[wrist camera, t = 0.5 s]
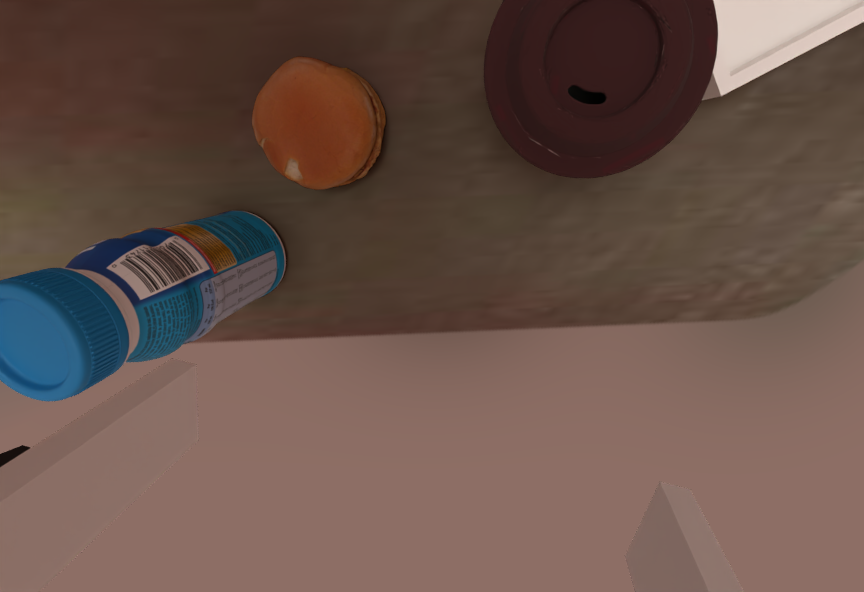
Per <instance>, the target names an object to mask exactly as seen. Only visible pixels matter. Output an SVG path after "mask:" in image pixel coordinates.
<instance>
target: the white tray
mask: <svg viewBox="0 0 864 592" xmlns="http://www.w3.org/2000/svg"><path fill="white" fill-rule="evenodd" d="M713 1H714V5H715V10H716V17H717V23H718V44H717V55H716V60H715V65H714V69H713V73H712V76H711V80H710V82H709V85H708V87H707V89H706V92H705V94H704V96H703V99H702V100H706V99H711V98H715V97H719V96H722V95H724V94H726V93H728V92H730V91H732V90H734V89H736V88H738V87H740V86H741V85H743V84H745V83H747V82H749V81H751V80H753V79H755V78H757V77H759V76H761V75H763V74H764V73H766V72H768V71H770V70H772V69H774V68H776V67H778V66H780V65H782V64H784V63H785V62H787V61H789V60H791V59H793V58H795V57H797V56H799V55H801V54H803V53H805V52H807V51H808V50H810V49H812V48H814V47H816V46H818V45H820V44H822V43H824V42H826V41H828V40H829V39H831V38H833V37H835V36H837V35H839V34H841V33H843V32H845V31H847V30H849V29H850V28H852V27H854V26H856V25H858V24H860V23H862V22H864V0H713Z"/></svg>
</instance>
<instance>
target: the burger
mask: <svg viewBox="0 0 864 592" xmlns="http://www.w3.org/2000/svg"><path fill="white" fill-rule="evenodd" d="M385 122H386V120H385V111H384V108H383V106H382V103H381V101H380V99H379V97H378V95H377V94H376V93H375V91H374V89H373V88H372V87H371V85H370V84H369V83H368V82H367V81H366V80H365V79H363V78H362V77H360V76H359V75H358V74H356V73H354V72H353V71H351V70H350V69H348V68H339V67H336V66H332V65H331V64H329V63H326V62H324V61H321V60H318V59H315V58H309V57H301V56H298V57H295V58H292V59H290V60H288V61H287V62H285V63H284V64H283V65H282V66H280V67H279V68H278V69H277V70H276V71H275V72H274V73H273V75H272V76H271V77H270V78H269V80H268V81H267V82H266V83H265V85H264V86H263V87H262V89H261V91H260V92H259V94H258V96H257V99H256V101H255V105H254V108H253V115H252V127H253V129H254V133H255V137H256V140H257V142H258V144H259V146H261V147H262V148H263V150H264V152H265V155H266V157H267V159H268V160H269V162H270V163H271V164H272V166H273V167H274V169H275V170H276V171H278V172H279V173H280V174H282V175H283V176H285V177H286V178H288V179H289V180H291V181H294V182H296V183H298V184H300V185H301V186H303V187H305V188H310V189H315V190H320V189H327V188H331V187H339V185H340V186H341V185H346V184H349V183H351V182H354V181H355V180H357V179H359V178H362V177H364V176H365V175H366V174H367V172H368V171H369V169H370V168H371V167H372V165H373V164H374V163H375V162H376V158H377V157H378V156H379V153H380V150H381V143H382V138H383V133H384V132H383V131H384V126H385Z"/></svg>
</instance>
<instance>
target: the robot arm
mask: <svg viewBox="0 0 864 592" xmlns="http://www.w3.org/2000/svg"><path fill="white" fill-rule="evenodd" d="M198 440H199V439H198V404H197V370H196V364H193V363H189V362H185V361H181V360H177V359H173V358H172V359H170V360H169V361H167V362H166V363H164V364H163V365H161V366H159V367H158V368H156V369H154V370H153V371H151V372H150V373H149V374H147V375H145V376H143V377H142V378H140V379H139V380H137V381H136V382H134V383H132V384H131V385H129V386H128V387H126V388H125V389H123V390H121V391H120V392H118V393H117V394H115V395H114V396H112V397H110V398H109V399H107V400H106V401H104V402H102V403H101V404H99V405H98V406H96V407H95V408H93V409H92V410H90V411H88V412H87V413H85V414H84V415H82V416H81V417H79V418H77V419H76V420H74V421H73V422H71V423H69V424H68V425H66V426H65V427H63V428H62V429H60V430H58V431H57V432H56V433H54V434H52V435H51V436H49V437H47V438H46V439H44V440H43V441H41V442H40V443H38V444H36V445H35V446H33V447H32V448H30V447H27V446H23V445H22V446H20V447H17V448H14V449H12V450H9V451H7V452H4V453H2V454H0V592H40V591H41V590H42V589H43V588H44V587H45V586H46V585H47V584H48V583H49V582H51V581H52V580H53V579H54V578H55V577H56V576H57V575H58V574H59V573H60V572H61V571H62V570H63V569H64V568H65V567H66V566H67V565H68V564H69V563H71V562H72V560H74V559H75V558H76V557H77V555H79V554H80V553H81V552H82V551H83V550H84V549H85V548H86V547H87V546H88V545H89V544H90V543H92V542H93V540H95V539H96V538H97V537H98V536H99V535H100V534H101V533H102V532H103V531H104V530H105V529H106V528H107V527H108V526H109V525H110V524H111V523H112V522H113V521H114V520H116V519H117V518H118V517H119V516H120V515H121V514H122V513H123V512H124V511H125V510H126V509H127V508H128V507H129V506H130V505H131V504H132V503H133V502H135V501H136V500H137V499H138V498H139V497H140V496H141V495H142V494H143V493H144V492H145V491H146V490H147V489H148V488H149V487H150V486H151V485H152V484H153V483H154V482H155V481H157V480H158V478H160V477H161V476H162V475H163V474H164V473H165V472H166V471H167V470H168V469H169V468H170V467H171V466H172V465H173V464H174V463H175V462H177V461H178V460H179V459H180V458H181V457H182V456H183V455H184V454H185V453H186V452H187V451H188V450H189V449H190V448H191V447H192V446H193V445H194V444H195V443H196V442H198ZM625 558H626V561H627V565H628V569H629V572H630V576H631V579H632V583H633V587H634V590H635V592H744V591H743V589H742V587H741V585H740V583H739V582H738V579H737V577H736V576H735V574H734V572H733V570H732V568H731V566H730V564H729V562H728V561H727V558H726V556H725V555H724V553H723V551H722V549H721V547H720V545H719V543H718V541H717V540H716V537H715V536H714V534H713V532H712V530H711V528H710V526H709V524H708V522H707V521H706V518H705V516H704V515H703V513H702V511H701V509H700V507H699V505H698V503H697V502H696V499H695V498H694V496H693V494H692V492H691V490H690V489H688V488H684V487H680V486H676V485H672V484H668V483H664V482H659V484H658V486H657V488H656V490H655V493H654V495H653V497H652V499H651V501H650V503H649V506H648V508H647V510H646V512H645V514H644V516H643V518H642V521H641V523H640V525H639V527H638V529H637V531H636V534H635V536H634V538H633V540H632V542H631V544H630V546H629V549H628V551H627V553H626V555H625Z"/></svg>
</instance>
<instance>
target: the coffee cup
mask: <svg viewBox="0 0 864 592" xmlns="http://www.w3.org/2000/svg"><path fill="white" fill-rule="evenodd" d="M717 44H718V23H717V17H716V10H715V5H714V1H713V0H503V2H502V4H501V6H500V8H499V10H498V12H497V15H496V17H495V19H494V22H493V25H492V27H491V31H490V34H489V38H488V41H487V46H486V52H485V60H484V83H485V91H486V97H487V101H488V105H489V109H490V111H491V114H492V117H493V119H494V121H495V123H496V126H497V127H498V129H499V131H500V133H501V134H502V136H503V137H504V139H505V140H506V141H507V142H508V144H509V145H510V146H511V147H512V148H513V149H514V150H515V151H516V152H517V153H518V154H519V155H520V156H521V157H523V158H524V159H525V160H527V161H528V162H530V163H531V164H533V165H534V166H536V167H538V168H540V169H542V170H544V171H547V172H550V173H553V174H556V175H560V176H565V177H572V178H595V177H603V176H608V175H612V174H615V173H619V172H622V171H625V170H627V169H630V168H632V167H634V166H636V165H638V164H640V163H642V162H643V161H645V160H647V159H649V158H650V157H652V156H653V155H655V154H656V153H657V152H659V151H660V150H661V149H662V148H664V147H665V146H666V145H667V144H668V143H670V142H671V141H672V140H673V139H674V138H675V137H676V136H677V135H678V134H679V132H680V131H681V130H682V129H683V128H684V126H685V125H686V124H687V123H688V121H689V120H690V119H691V117H692V116H693V114H694V113H695V111H696V110H697V108H698V106H699V104H700V103H701V101H702V99H703V96H704V94H705V92H706V89H707V87H708V85H709V82H710V80H711V76H712V73H713V69H714V65H715V60H716V55H717Z"/></svg>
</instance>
